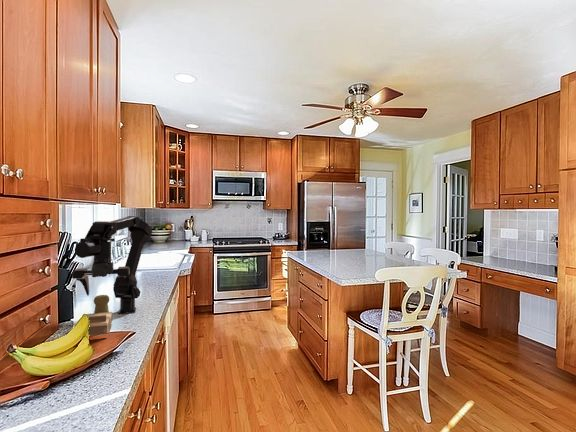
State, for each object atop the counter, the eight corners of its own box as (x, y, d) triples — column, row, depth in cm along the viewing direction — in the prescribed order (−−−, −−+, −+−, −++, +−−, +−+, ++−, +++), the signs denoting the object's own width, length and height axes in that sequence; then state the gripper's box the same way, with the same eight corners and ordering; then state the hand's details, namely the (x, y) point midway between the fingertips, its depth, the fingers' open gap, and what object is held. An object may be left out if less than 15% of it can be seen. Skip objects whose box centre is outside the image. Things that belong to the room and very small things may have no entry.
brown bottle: (106, 320, 127) (106, 292, 127) (112, 323, 123) (113, 295, 123) (89, 324, 122) (90, 295, 122) (95, 327, 118) (96, 298, 118)
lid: (87, 316, 117) (87, 308, 117) (111, 314, 120) (111, 306, 120) (79, 328, 106) (79, 319, 106) (107, 325, 109) (107, 316, 109)
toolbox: (86, 329, 117) (87, 316, 117) (111, 326, 120) (111, 314, 120) (79, 341, 106) (79, 328, 106) (106, 338, 109) (107, 325, 109)
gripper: (68, 258, 111) (67, 302, 111) (127, 256, 118) (127, 298, 119) (75, 253, 121) (75, 294, 122) (130, 252, 129) (129, 290, 129)
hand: (102, 294), depth 122 cm, fingers open, 9 cm apart
